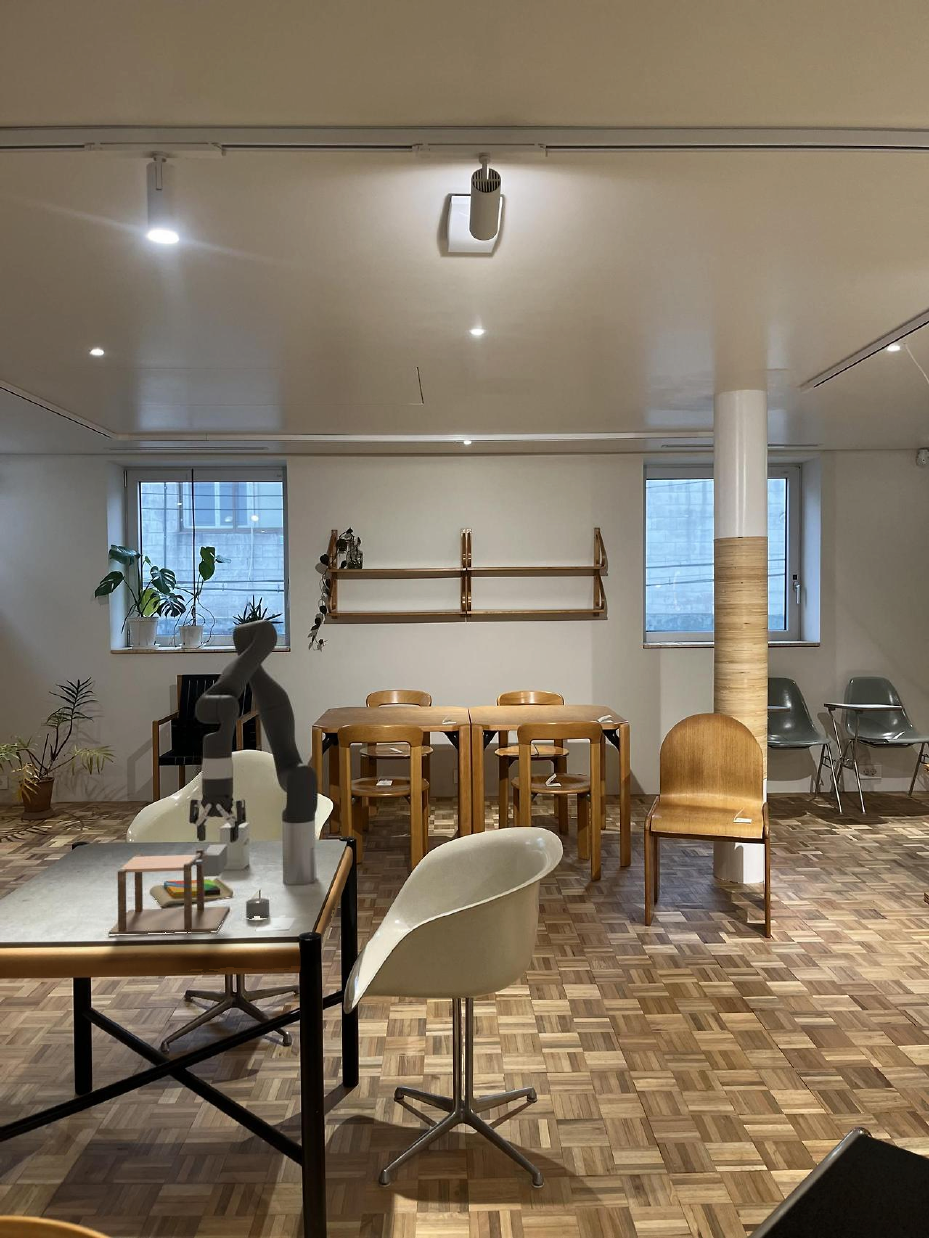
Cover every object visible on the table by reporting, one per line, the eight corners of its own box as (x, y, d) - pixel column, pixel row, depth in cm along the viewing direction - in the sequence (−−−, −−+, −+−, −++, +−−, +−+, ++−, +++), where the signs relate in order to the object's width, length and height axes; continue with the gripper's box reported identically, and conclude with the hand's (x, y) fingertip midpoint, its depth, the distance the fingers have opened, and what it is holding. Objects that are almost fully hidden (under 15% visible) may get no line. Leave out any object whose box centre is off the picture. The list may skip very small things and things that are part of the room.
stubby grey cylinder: (270, 913, 233) (270, 897, 233) (267, 920, 227) (267, 904, 227) (248, 914, 232) (248, 898, 232) (244, 921, 227) (244, 905, 227)
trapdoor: (227, 863, 233) (227, 843, 233) (218, 876, 221) (218, 855, 221) (134, 866, 231) (133, 846, 231) (120, 879, 219) (119, 858, 219)
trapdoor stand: (229, 910, 236) (229, 847, 236) (217, 932, 219) (216, 864, 219) (129, 913, 234) (128, 850, 234) (108, 936, 217) (107, 868, 217)
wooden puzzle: (234, 899, 247) (234, 886, 247) (162, 910, 238) (161, 897, 238) (217, 883, 262) (217, 871, 262) (148, 894, 253) (148, 881, 253)
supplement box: (244, 869, 275) (243, 827, 275) (219, 870, 275) (218, 827, 275) (250, 863, 282) (249, 822, 282) (226, 863, 282) (225, 822, 282)
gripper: (250, 774, 232) (250, 839, 231) (199, 773, 235) (199, 837, 235) (236, 778, 225) (236, 845, 224) (183, 777, 228) (183, 843, 227)
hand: (217, 841), depth 229 cm, fingers open, 8 cm apart
